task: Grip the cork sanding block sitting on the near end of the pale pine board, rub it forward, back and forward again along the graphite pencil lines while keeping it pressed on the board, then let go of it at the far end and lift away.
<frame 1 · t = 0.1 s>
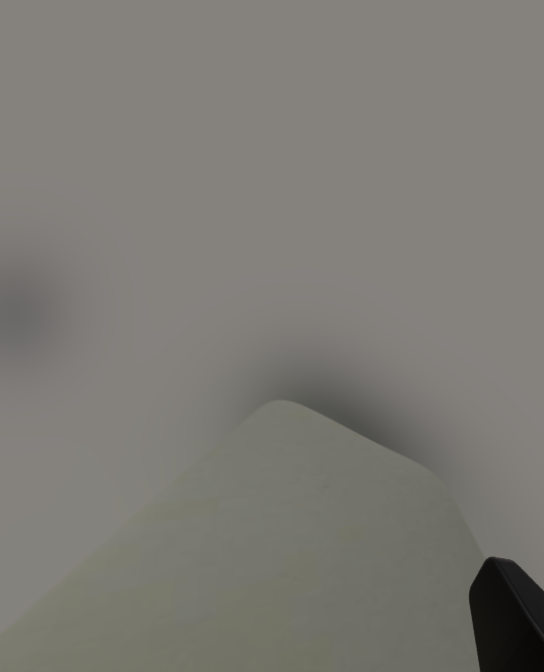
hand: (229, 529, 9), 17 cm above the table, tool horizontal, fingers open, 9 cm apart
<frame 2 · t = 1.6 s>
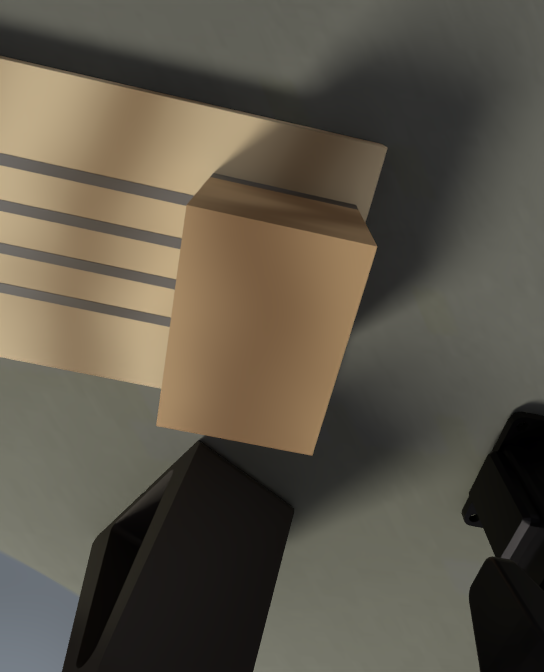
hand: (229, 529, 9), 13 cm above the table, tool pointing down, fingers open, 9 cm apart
pine board: (113, 239, 20), on the table
phone stand: (192, 519, 27), on the table
sanding block: (264, 283, 19), point 1 cm above the table, touching pine board
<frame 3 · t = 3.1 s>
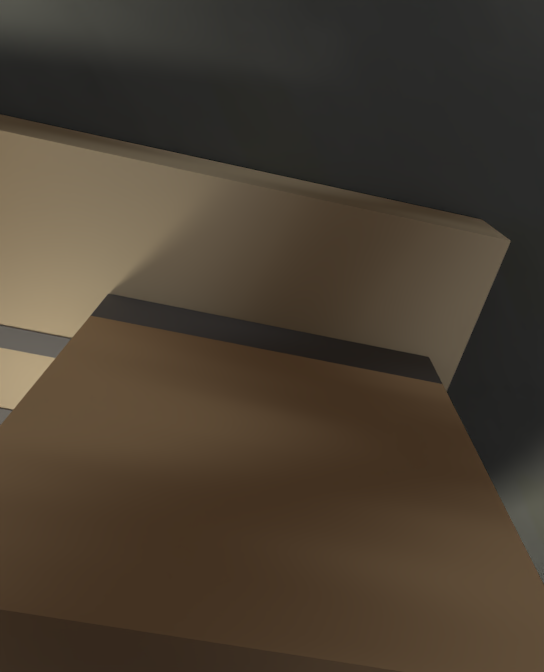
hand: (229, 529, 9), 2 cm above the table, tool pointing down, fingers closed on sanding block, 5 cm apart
sanding block: (233, 494, 9), point 1 cm above the table, touching gripper, pine board
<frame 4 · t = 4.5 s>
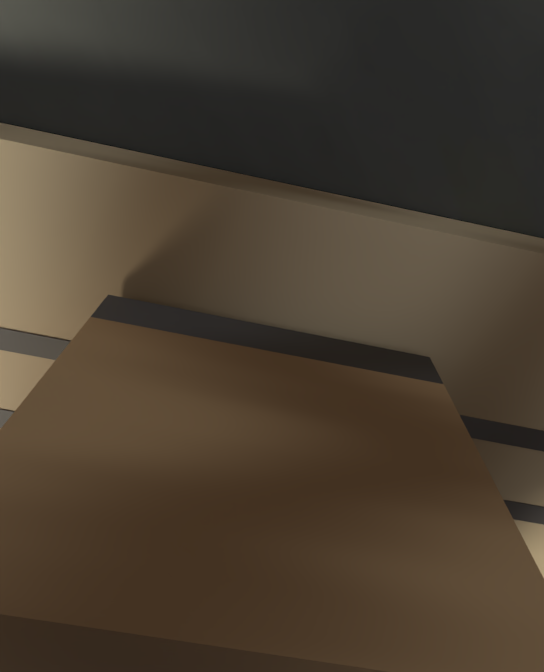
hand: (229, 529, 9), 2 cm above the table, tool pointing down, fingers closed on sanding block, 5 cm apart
pine board: (122, 431, 11), on the table
sanding block: (233, 495, 9), point 1 cm above the table, touching gripper
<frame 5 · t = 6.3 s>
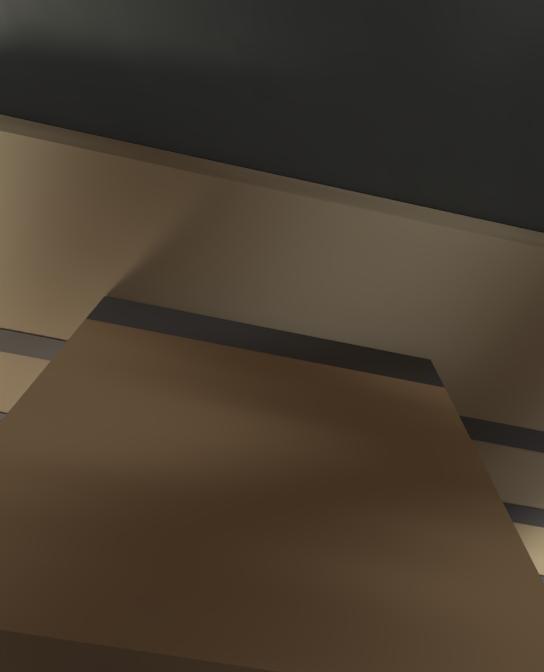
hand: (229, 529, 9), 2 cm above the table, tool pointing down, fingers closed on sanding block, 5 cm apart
pine board: (414, 486, 11), on the table
sanding block: (232, 499, 9), point 1 cm above the table, touching gripper
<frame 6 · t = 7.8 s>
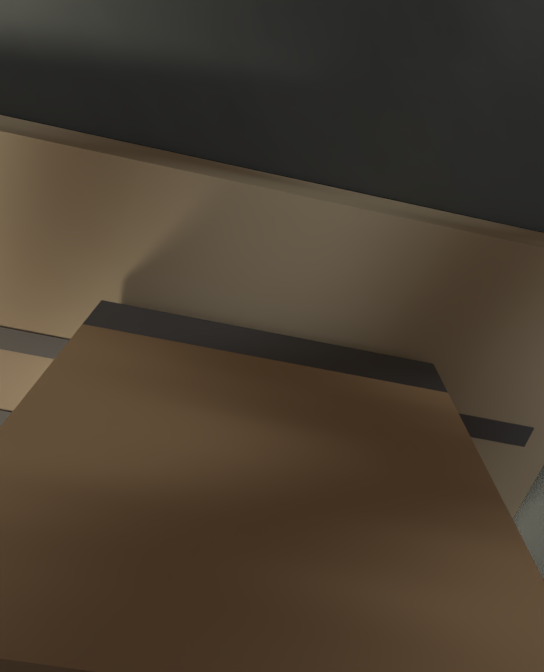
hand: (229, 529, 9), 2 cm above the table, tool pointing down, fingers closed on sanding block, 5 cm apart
pine board: (46, 418, 10), on the table
sanding block: (232, 504, 9), point 1 cm above the table, touching gripper
when the fingers open (2 cm above the table, at t = 10.4 s): sanding block stays where it is, resting on pine board.
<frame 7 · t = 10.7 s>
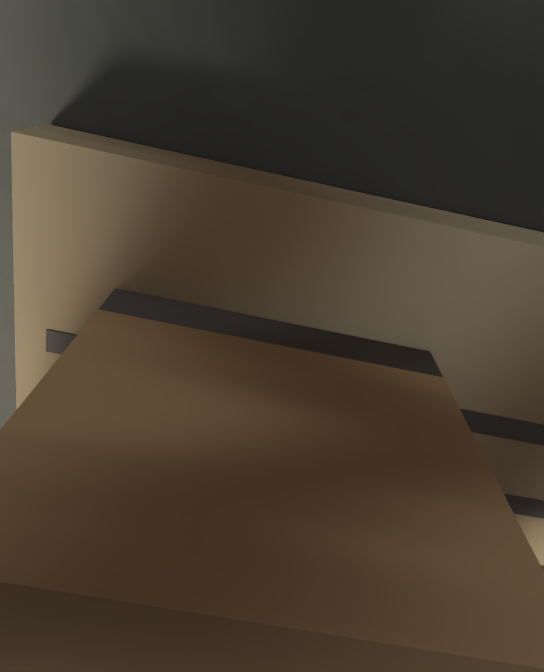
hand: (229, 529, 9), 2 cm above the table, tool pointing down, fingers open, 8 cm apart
pine board: (470, 489, 11), on the table
sanding block: (236, 487, 10), point 1 cm above the table, touching pine board
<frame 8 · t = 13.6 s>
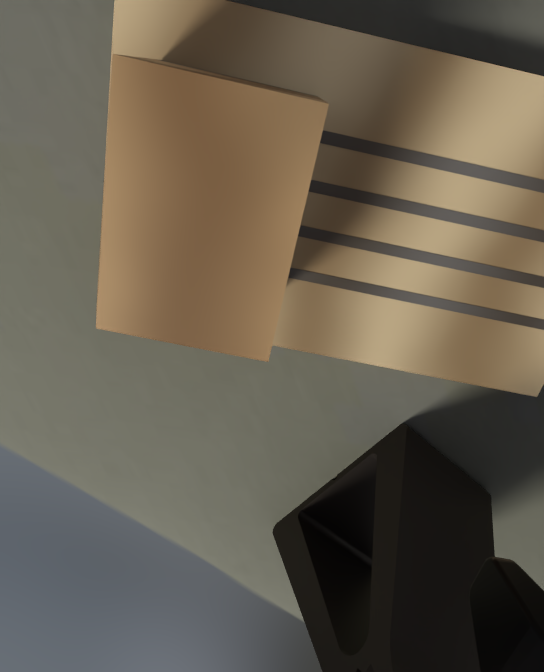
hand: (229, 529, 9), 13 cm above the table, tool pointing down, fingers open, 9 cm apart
pine board: (357, 212, 19), on the table
phone stand: (376, 505, 26), on the table
sanding block: (222, 189, 18), point 1 cm above the table, touching pine board
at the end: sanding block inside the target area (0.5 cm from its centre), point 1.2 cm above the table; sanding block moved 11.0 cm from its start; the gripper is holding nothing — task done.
